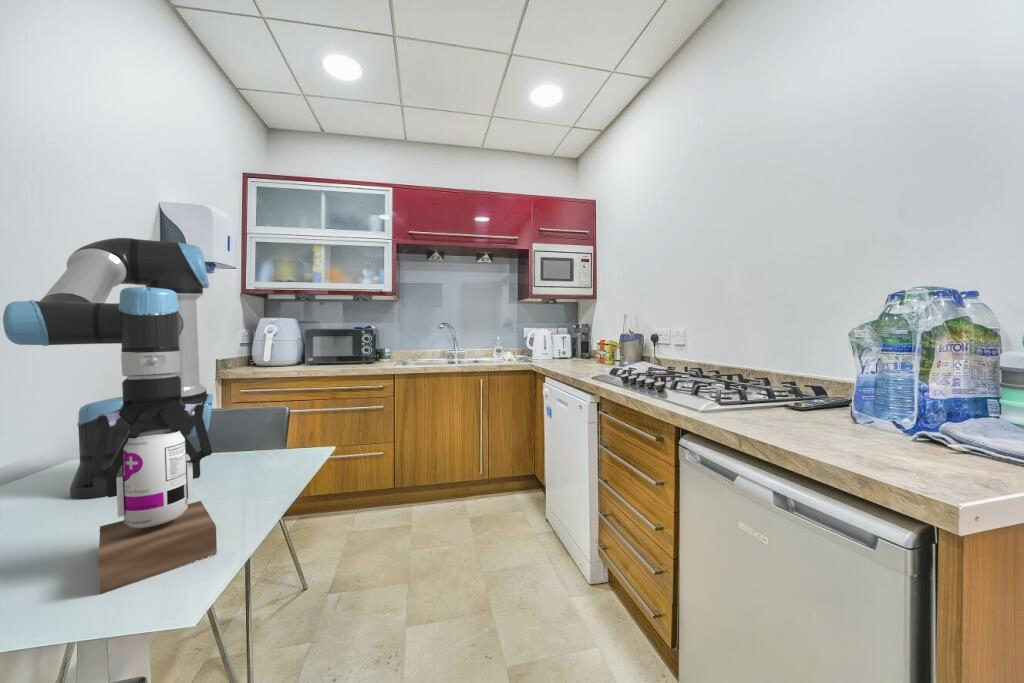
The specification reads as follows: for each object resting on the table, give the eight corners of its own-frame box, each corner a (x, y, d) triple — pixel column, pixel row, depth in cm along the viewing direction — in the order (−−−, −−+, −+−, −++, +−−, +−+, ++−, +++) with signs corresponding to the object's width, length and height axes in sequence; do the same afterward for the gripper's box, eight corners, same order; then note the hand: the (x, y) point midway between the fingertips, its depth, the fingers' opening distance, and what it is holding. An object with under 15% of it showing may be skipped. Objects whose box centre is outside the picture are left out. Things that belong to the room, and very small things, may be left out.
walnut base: (101, 554, 68) (100, 526, 68) (201, 525, 78) (200, 500, 78) (99, 594, 57) (98, 561, 57) (216, 554, 67) (216, 525, 67)
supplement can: (133, 534, 62) (130, 442, 62) (118, 522, 66) (115, 435, 66) (195, 514, 69) (192, 430, 69) (177, 504, 73) (175, 426, 73)
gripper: (57, 384, 57) (63, 535, 57) (230, 372, 72) (234, 492, 73) (62, 381, 62) (67, 520, 63) (222, 370, 78) (225, 482, 78)
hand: (156, 505), depth 68 cm, fingers closed on supplement can, 8 cm apart
